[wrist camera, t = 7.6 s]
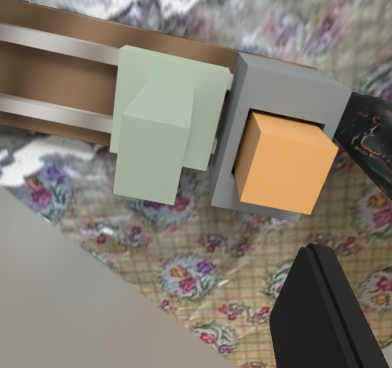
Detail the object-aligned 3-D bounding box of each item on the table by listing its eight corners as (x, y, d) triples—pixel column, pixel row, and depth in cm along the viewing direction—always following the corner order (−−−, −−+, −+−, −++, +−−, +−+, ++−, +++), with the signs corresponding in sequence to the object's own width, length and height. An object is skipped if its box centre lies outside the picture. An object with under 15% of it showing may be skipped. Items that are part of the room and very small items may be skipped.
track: (313, 67, 26) (333, 78, 22) (276, 172, 30) (287, 197, 26) (-42, -14, 24) (-91, -19, 20) (-30, 110, 28) (-69, 127, 24)
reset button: (311, 119, 22) (338, 148, 17) (289, 175, 23) (310, 214, 19) (249, 106, 21) (261, 132, 17) (233, 163, 23) (239, 201, 19)
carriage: (228, 68, 23) (243, 105, 15) (206, 160, 27) (206, 236, 18) (126, 44, 23) (77, 68, 14) (116, 142, 26) (70, 211, 17)
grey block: (319, 70, 25) (352, 89, 19) (278, 182, 29) (296, 224, 23) (238, 52, 24) (248, 65, 19) (208, 168, 28) (210, 208, 23)
